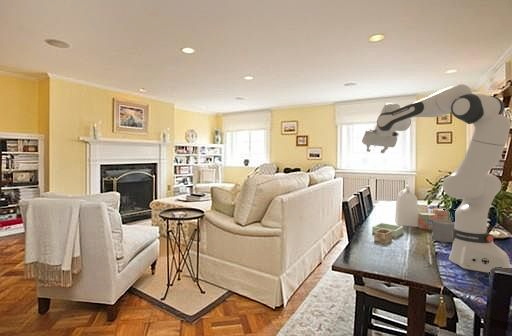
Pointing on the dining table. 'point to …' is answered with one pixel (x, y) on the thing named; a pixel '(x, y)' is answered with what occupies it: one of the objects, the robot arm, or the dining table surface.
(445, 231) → the coffee mug
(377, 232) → the pine crate
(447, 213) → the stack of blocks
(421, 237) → the dining table surface
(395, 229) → the sage crate
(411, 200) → the milk
